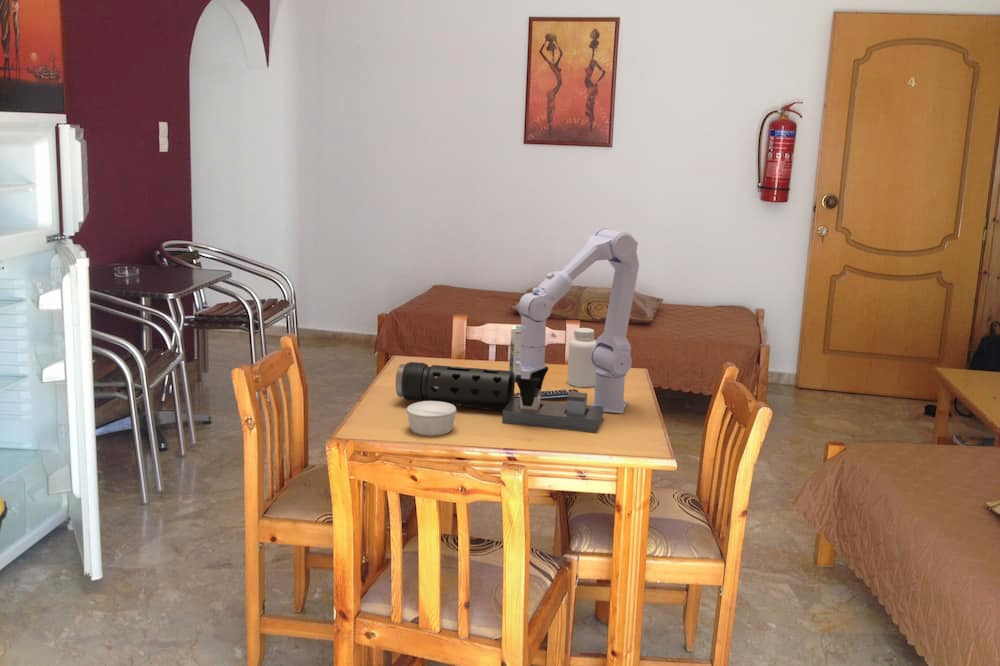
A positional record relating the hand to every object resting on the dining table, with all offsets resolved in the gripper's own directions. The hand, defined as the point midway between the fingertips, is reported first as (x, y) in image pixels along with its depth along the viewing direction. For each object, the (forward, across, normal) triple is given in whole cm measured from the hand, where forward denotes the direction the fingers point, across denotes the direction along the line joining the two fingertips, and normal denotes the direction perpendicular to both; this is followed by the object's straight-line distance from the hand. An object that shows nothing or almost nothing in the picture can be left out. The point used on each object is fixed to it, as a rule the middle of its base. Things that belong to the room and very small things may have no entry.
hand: (531, 401), depth 224 cm
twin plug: (+4, 0, +11) cm, 12 cm away
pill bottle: (+5, -34, +6) cm, 35 cm away
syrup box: (+4, -34, -10) cm, 35 cm away
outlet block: (+4, 0, +6) cm, 7 cm away
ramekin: (+5, +16, -20) cm, 25 cm away
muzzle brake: (+5, -4, -20) cm, 21 cm away
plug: (+4, 0, 0) cm, 4 cm away
